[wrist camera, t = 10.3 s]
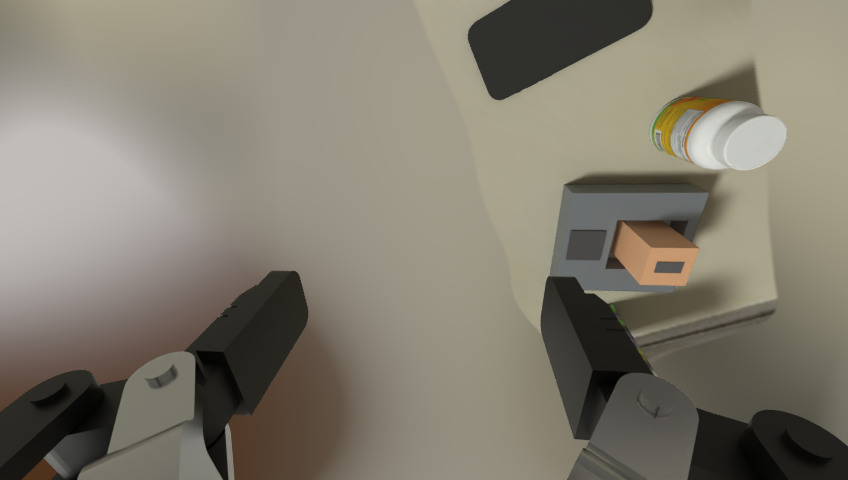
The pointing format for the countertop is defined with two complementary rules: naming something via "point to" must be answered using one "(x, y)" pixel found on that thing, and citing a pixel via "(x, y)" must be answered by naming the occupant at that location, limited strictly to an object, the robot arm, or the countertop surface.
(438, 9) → the countertop surface
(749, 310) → the countertop surface
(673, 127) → the supplement bottle
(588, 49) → the phone
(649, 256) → the block
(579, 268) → the plate
